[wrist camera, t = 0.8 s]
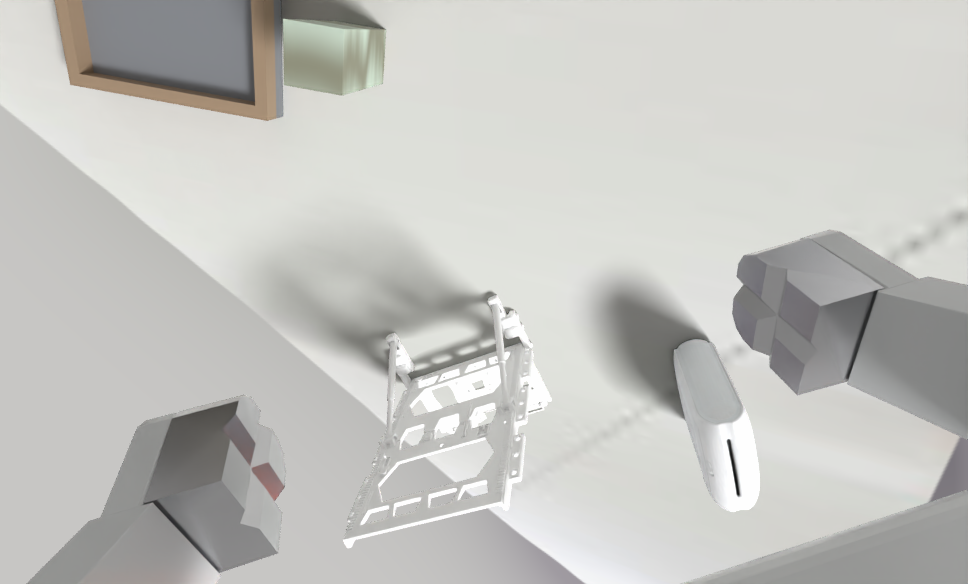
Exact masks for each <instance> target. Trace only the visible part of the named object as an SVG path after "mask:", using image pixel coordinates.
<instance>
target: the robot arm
mask: <svg viewBox="0 0 968 584" xmlns="http://www.w3.org/2000/svg"><path fill="white" fill-rule="evenodd" d="M737 278H738V279H739V280H740V281H741V282H742V283H743V286H742V287H741V289H740V290H739V291H738V293H737V294H736V295H735V297H734V300H733V311H732V314H733V318H734V321H735V325H736V329H737V330H738V332H739V334H740V335H741V337H742V339H743V340H744V341H745V342H746V343H747V344H748V345H749V346H750V347H751V348H752V349H753V350H756V351H758V352H761V353H764V354H766V355H769V356H770V368H771V369H772V370H773V371H774V372H775V373H776V374H777V375H778V376H779V377H780V378H781V379H782V380H783V381H784V382H785V383H786V384H787V385H788V386H789V387H790V388H791V389H792V390H793V391H794V392H795V393H796V394H797V395H800V394H803V393H807V392H811V391H814V390H818V389H821V388H825V387H829V386H832V385H836V384H840V383H843V382H847V381H848V383H847V384H848V385H850V386H852V387H854V388H857V389H859V390H861V391H863V392H865V393H867V394H870V395H872V396H874V397H876V398H878V399H880V400H882V401H885V402H887V403H889V404H891V405H893V406H895V407H898V408H900V409H902V410H904V411H906V412H908V413H911V414H913V415H915V416H917V417H919V418H921V419H924V420H926V421H928V422H930V423H932V424H934V425H937V426H939V427H941V428H943V429H945V430H947V431H950V432H952V433H954V434H956V435H958V436H960V437H963V438H965V439H967V440H968V285H965V284H960V283H955V282H951V281H946V280H941V279H937V278H932V277H925V278H921V279H918V278H916V277H914V276H913V275H911V274H910V273H908V272H906V271H905V270H903V269H901V268H900V267H898V266H896V265H895V264H893V263H891V262H890V261H888V260H886V259H885V258H883V257H881V256H880V255H878V254H876V253H875V252H873V251H872V250H870V249H868V248H867V247H865V246H863V245H862V244H860V243H858V242H857V241H855V240H853V239H852V238H850V237H848V236H847V235H845V234H843V233H842V232H839V231H834V230H827V231H824V232H820V233H817V234H814V235H810V236H807V237H804V238H801V239H800V240H796V241H792V242H789V243H786V244H782V245H779V246H775V247H772V248H768V249H765V250H761V251H758V252H754V253H751V254H747V255H744V256H743V257H742V259H741V261H740V262H739V264H738V270H737ZM260 412H261V411H260V409H259V408H258V406H257V405H256V403H255V402H254V400H253V399H252V397H250V396H246V395H241V396H237V397H234V398H230V399H226V400H222V401H218V402H214V403H210V404H206V405H202V406H198V407H194V408H191V409H187V410H183V411H180V412H178V413H174V414H169V415H165V416H162V417H158V418H154V419H150V420H146V421H145V422H143V423H142V424H141V425H140V426H139V427H137V429H136V431H135V434H134V436H133V439H132V441H131V444H130V446H129V449H128V451H127V454H126V456H125V459H124V461H123V463H122V466H121V468H120V471H119V473H118V476H117V478H116V481H115V484H114V486H113V488H112V490H111V493H110V495H109V498H108V500H107V503H106V505H105V508H104V510H103V513H102V515H101V517H100V518H97V519H94V520H91V521H89V522H88V523H87V524H86V525H85V526H84V527H83V528H82V529H81V530H80V531H79V532H78V533H77V534H76V535H75V536H74V537H73V538H72V539H71V540H70V541H69V542H68V543H67V544H66V545H65V546H64V547H63V548H62V549H61V550H60V551H59V552H58V553H57V554H56V555H55V556H54V557H53V558H52V559H51V560H50V561H49V562H48V563H47V564H46V565H45V566H44V567H43V568H42V569H41V570H40V571H39V572H38V573H37V574H36V575H35V576H34V577H33V578H32V579H31V580H30V581H29V582H28V583H27V584H217V582H218V580H219V578H220V577H221V574H220V572H223V571H226V570H229V569H232V568H235V567H238V566H241V565H244V564H247V563H250V562H253V561H256V560H259V559H262V558H265V557H268V556H271V555H274V554H277V553H278V550H279V540H280V530H281V521H282V512H281V510H280V509H279V507H278V506H277V504H276V503H275V500H276V499H277V497H278V496H279V494H280V493H281V492H282V490H283V489H284V487H285V477H286V468H285V461H284V454H283V451H282V448H281V445H280V442H279V440H278V438H277V436H276V435H275V433H274V431H273V430H272V429H270V428H267V427H265V426H263V425H260V424H259V419H260ZM682 584H968V490H965V491H962V492H959V493H956V494H953V495H950V496H947V497H944V498H941V499H938V500H935V501H932V502H929V503H926V504H923V505H920V506H917V507H914V508H911V509H907V510H904V511H901V512H898V513H895V514H892V515H889V516H886V517H883V518H880V519H877V520H874V521H871V522H868V523H865V524H862V525H859V526H856V527H853V528H850V529H847V530H844V531H840V532H837V533H834V534H831V535H828V536H825V537H822V538H819V539H816V540H813V541H810V542H807V543H804V544H801V545H798V546H795V547H792V548H789V549H786V550H783V551H780V552H777V553H773V554H770V555H767V556H764V557H761V558H758V559H755V560H752V561H749V562H746V563H743V564H740V565H737V566H734V567H731V568H728V569H725V570H722V571H719V572H716V573H713V574H710V575H706V576H703V577H700V578H697V579H694V580H691V581H688V582H685V583H682Z"/></svg>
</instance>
